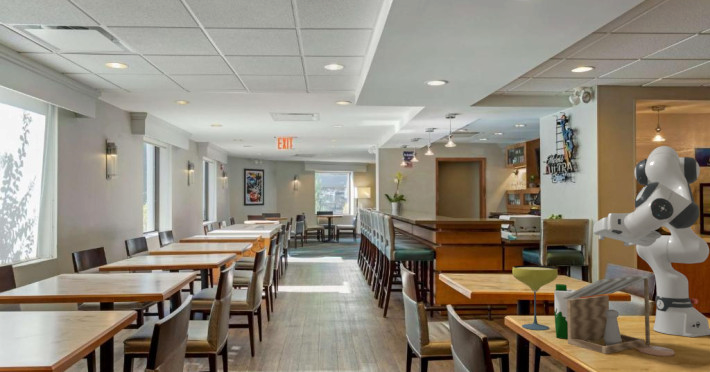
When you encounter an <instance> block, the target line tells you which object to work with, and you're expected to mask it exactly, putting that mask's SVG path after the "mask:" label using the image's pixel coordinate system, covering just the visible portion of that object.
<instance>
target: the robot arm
mask: <svg viewBox="0 0 710 372" xmlns="http://www.w3.org/2000/svg"><path fill="white" fill-rule="evenodd" d="M700 171H701V168H700V165H699V163H698V161H697V159H695V158H694V157H690V156H684V157H680V156H679V154H678V152H677V151H676V149H674V148H672V147H670V146H667V145H662V146H658V147H656V148H655V149H652V151H651V152H650V153H649V155H648V157H647V158H643V160H640V161H638V162H637V163H636V165H635V168H634V178H635V180H636V182H637V183H638V184H639V185H640V186H644V187H642V188H641V189H640V190H639V191H638V192H637V194H636V195H635V198H634V209H635V210H634V211H632V212H628V213H615V212H610V213H608V214H607V216H605V217H602V218H601V219H599V220H598V221H596V222H595V223H594V224H593V234H594V235H595V236H598V238H597V239H598V240H600V241H603V240H605V239H606V238H609V239H613V240H615V241H616V240H617V241H621V242H623V246H624V247H630V246H635V245H636V246H635V251H636V253H637V255H638V256H639V258H641V259H642V260H643V261H645V262H646V264H648V266H649V268H651V270H652V271H653V274H654V276H655V278H654V279H655V285H656V295H655V305H656V309H655V310H656V311H655V321H654V325H653V328H652V330H654V331H655V332H658V333H661V334H667V335H674V336H683V337H690V338H694V337H705V336H710V324H709V320H708V318H707V317H706V316H705V315H704V314H703V313H701V312H699V310H697V309H696V308H695V307H694V305H693V304H695V305H697V304H698V303H699V299H697V298H693V297H692V298H690V297H689V296H690V295H689V280H688V278H687V276H686V275H685V274H683V273H681V272H680V271H677V270H676V269H674V267H673V266H672V263H674V264H675V263H677V264H700V263H703V262H705V261H706V260H707V259H708V257H709V254H710V248H709V245H708V243H707V242H706V240H704V239H703V238H702V237H701V236H699V235H698V234H696V232H694V230H693V229H692V228H691V227H692V226H693V225H694V224H696V222H697V221H698V219H699V218H700V208H699V207H700V206H699V205H698V204H697V203H696V202H695V199H694V196H693V192H692V187H691V184H693V183H695V182H697V180H698V178H699V176H700V174H701V173H700ZM661 227H664V228H666V229H668V230H669V232H670V235H662V234H661V233H660V232H659V231H656V230H658V229H660V228H661Z"/></svg>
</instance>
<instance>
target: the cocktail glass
mask: <svg viewBox="0 0 710 372" xmlns="http://www.w3.org/2000/svg"><path fill="white" fill-rule="evenodd" d="M558 273H559V272H558V268H557V267H553V266H547V265H529V264H527V265H526V264H524V265H523V264H522V265H514V266H512V276H513V277H514V278H515V279H516V280H517V281H518V282H521V283H522V284H525V285H526V286H528V287H529V288H530V290H531V291H532V292H533V293H534V294H533V298H534V301H533V302H534V307H533V308H534V309H533V310H534V314H533V315H534V316H533V322H532V323H525V324H522V325H521V327H522V328H524V329H527V330H530V331H531V330H532V331H547V330H549V329H550V327H549V326H547V325H544V324H541V323H538V320H537V318H538V317H537V297H536V295H537V292H538V291H539V290H540V289H541V288H542V287H543V286H546V285H548V284H550V283H552V282H554V281H555V280H556V279H557V278H558V275H559V274H558Z"/></svg>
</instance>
